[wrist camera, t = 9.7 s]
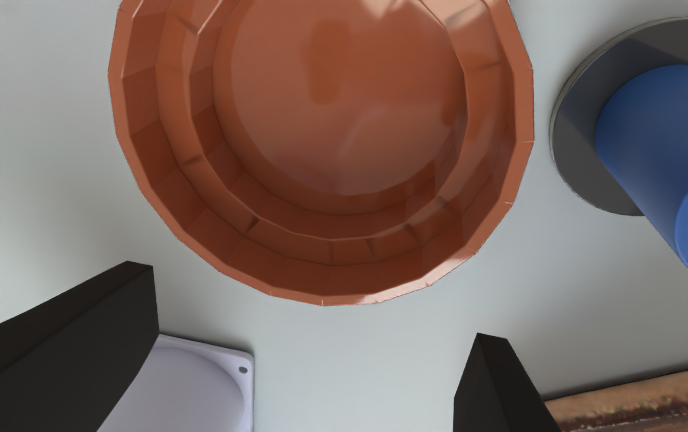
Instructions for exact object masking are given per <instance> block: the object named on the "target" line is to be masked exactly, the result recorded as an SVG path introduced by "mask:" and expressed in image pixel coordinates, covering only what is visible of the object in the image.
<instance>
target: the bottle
mask: <svg viewBox="0 0 688 432" xmlns="http://www.w3.org/2000/svg"><path fill="white" fill-rule="evenodd" d="M595 147H596V150H597V154H598V156H599V158H600V160H601V161H602V163H603V164H604V165H605V167H606V168H607V169H608V170H609V172H610V173H611V174H612V175H613V177H614V178H615V179H616V180H617V182H618V183H619V184H620V185H621V186H622V188H623V189H624V190H625V191H626V193H627V194H628V195H629V196H630V198H631V199H632V200H633V201H634V203H635V204H636V205H637V206H638V208H639V209H640V210H641V211H642V213H643V214H644V215H645V216H646V217H647V219H648V220H649V221H650V222H651V224H652V225H653V226H654V227H655V229H656V230H657V231H658V232H659V234H660V235H661V236H662V237H663V239H664V240H665V241H666V242H667V244H668V245H669V246H670V247H671V249H672V250H673V251H674V252H675V253H676V255H677V256H678V257H679V258H680V260H681V261H682V262H683V263H684V265H685V266H686V267H687V268H688V65H684V64H678V65H668V66H662V67H658V68H655V69H652V70H649V71H647V72H644V73H642V74H640V75H638V76H636V77H634V78H633V79H631V80H630V81H628V82H627V83H626V84H624V85H623V86H622V87H621V88H619V89H618V90H617V91H616V92H615V93H614V94H613V95H612V97H611V98H610V99H609V100H608V102H607V103H606V105H605V106H604V108H603V109H602V111H601V114H600V116H599V118H598V121H597V124H596V129H595Z"/></svg>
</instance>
